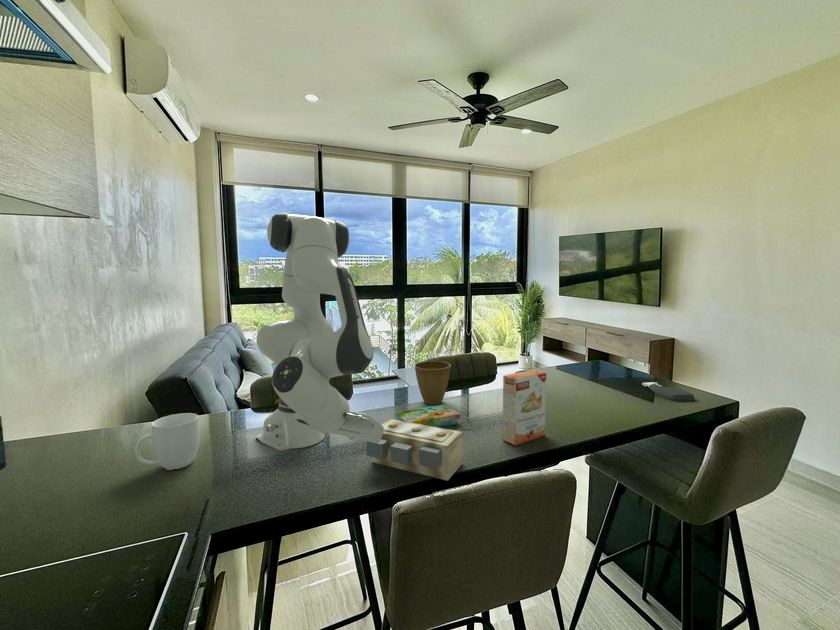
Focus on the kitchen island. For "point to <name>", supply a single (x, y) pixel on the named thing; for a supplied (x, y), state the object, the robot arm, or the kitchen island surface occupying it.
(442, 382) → the plant pot
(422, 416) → the puzzle game
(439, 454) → the button right
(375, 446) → the button left
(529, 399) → the cracker box
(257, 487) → the kitchen island surface
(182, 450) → the mug
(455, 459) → the console
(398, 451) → the button middle
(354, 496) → the kitchen island surface
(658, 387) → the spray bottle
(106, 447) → the kitchen island surface
